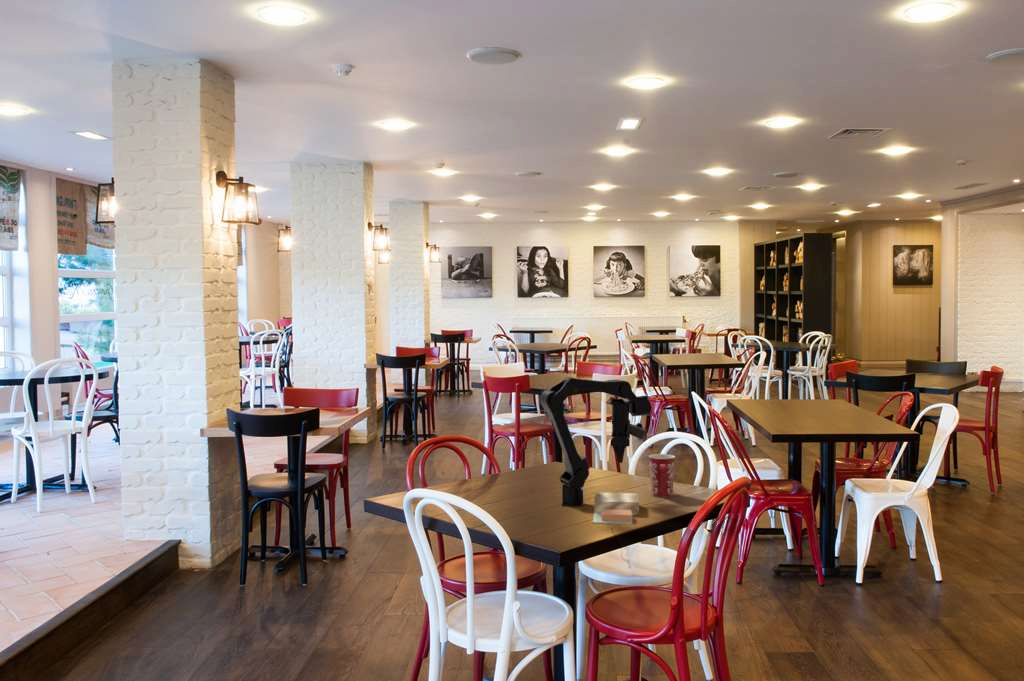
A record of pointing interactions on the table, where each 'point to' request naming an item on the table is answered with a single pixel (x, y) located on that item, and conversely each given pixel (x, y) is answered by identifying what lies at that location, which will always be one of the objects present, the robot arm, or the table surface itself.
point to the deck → (617, 502)
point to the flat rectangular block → (616, 515)
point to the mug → (662, 474)
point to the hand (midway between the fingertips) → (620, 462)
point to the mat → (598, 519)
